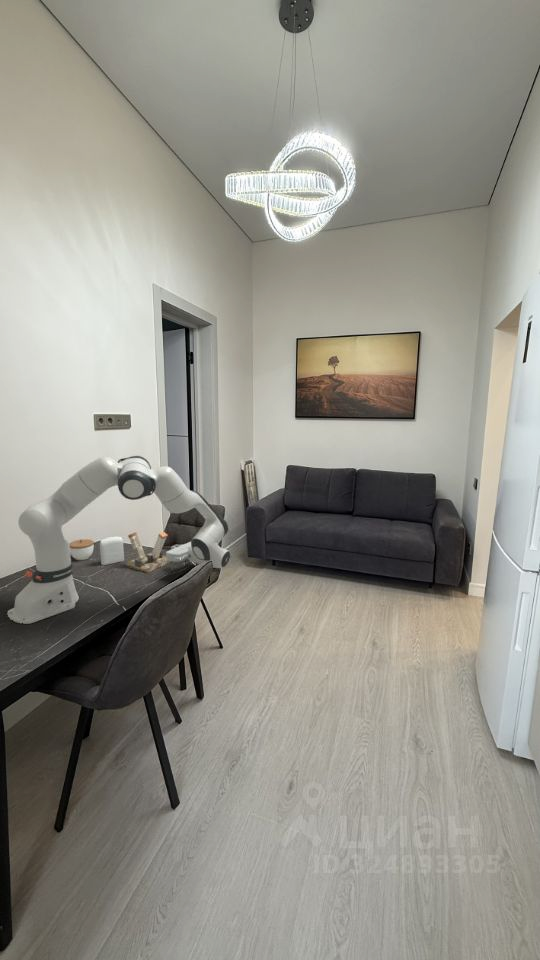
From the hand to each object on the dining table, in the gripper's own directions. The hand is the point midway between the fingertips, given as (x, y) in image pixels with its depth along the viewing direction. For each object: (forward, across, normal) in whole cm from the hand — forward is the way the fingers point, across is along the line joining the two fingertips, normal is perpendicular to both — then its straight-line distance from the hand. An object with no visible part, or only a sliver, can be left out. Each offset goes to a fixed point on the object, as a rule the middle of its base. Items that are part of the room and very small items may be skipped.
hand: (173, 547), depth 172 cm
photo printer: (+29, -10, -10) cm, 32 cm away
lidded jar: (+46, -14, -10) cm, 49 cm away
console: (+13, -2, -10) cm, 17 cm away
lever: (+13, 0, -8) cm, 15 cm away
